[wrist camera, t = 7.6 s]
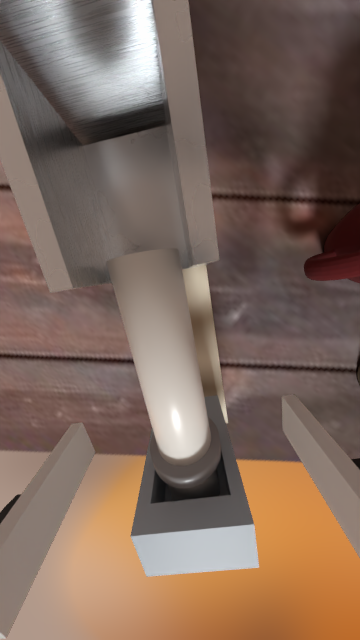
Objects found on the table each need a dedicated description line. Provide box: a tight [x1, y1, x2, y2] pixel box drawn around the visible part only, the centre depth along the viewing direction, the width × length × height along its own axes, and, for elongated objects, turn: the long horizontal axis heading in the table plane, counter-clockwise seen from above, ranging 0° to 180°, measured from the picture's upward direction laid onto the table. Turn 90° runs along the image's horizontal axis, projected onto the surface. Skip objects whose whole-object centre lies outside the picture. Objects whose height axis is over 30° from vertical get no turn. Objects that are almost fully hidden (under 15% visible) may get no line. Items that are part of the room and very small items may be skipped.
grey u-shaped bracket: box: [0, 0, 219, 293], centre depth 11 cm, size 9×7×10 cm
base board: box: [182, 265, 228, 423], centre depth 18 cm, size 28×8×1 cm, turn 10°
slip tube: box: [106, 248, 221, 501], centre depth 12 cm, size 18×5×5 cm, turn 10°
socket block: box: [131, 395, 259, 577], centre depth 15 cm, size 4×7×10 cm, turn 100°
